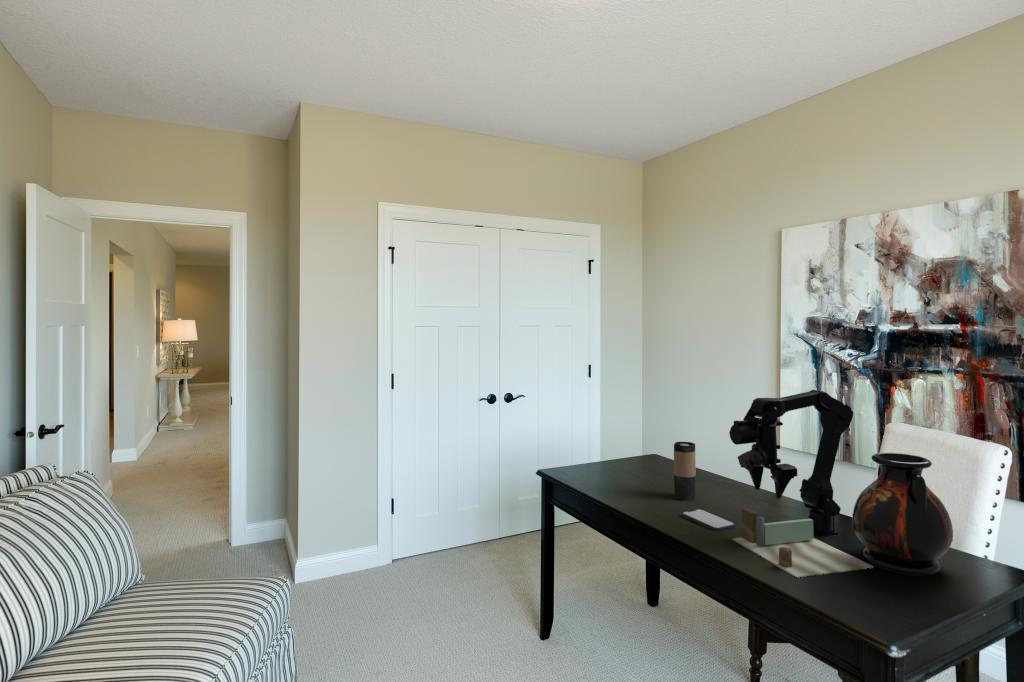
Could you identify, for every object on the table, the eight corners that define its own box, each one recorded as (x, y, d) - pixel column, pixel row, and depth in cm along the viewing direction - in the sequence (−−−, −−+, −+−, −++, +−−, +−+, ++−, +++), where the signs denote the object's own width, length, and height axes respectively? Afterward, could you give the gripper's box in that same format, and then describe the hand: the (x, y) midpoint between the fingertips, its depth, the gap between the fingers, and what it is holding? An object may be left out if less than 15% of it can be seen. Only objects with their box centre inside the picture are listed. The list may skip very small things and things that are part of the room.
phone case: (737, 529, 175) (700, 513, 189) (737, 524, 175) (700, 508, 189) (716, 533, 171) (679, 517, 186) (716, 528, 171) (679, 512, 186)
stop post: (786, 563, 148) (786, 546, 147) (794, 568, 145) (794, 550, 144) (776, 564, 147) (776, 547, 147) (784, 569, 144) (784, 552, 144)
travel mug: (700, 499, 203) (700, 444, 202) (683, 502, 200) (682, 446, 200) (686, 494, 210) (686, 440, 210) (669, 496, 207) (669, 442, 207)
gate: (759, 546, 157) (759, 519, 157) (754, 543, 159) (754, 516, 159) (814, 539, 161) (814, 513, 161) (808, 537, 163) (808, 511, 163)
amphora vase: (837, 546, 158) (837, 448, 157) (919, 549, 156) (920, 449, 155) (878, 581, 137) (878, 467, 136) (974, 584, 134) (975, 468, 134)
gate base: (799, 532, 170) (799, 502, 169) (873, 567, 144) (873, 533, 144) (732, 539, 164) (732, 509, 164) (796, 578, 139) (796, 542, 139)
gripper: (722, 437, 172) (724, 488, 173) (763, 450, 154) (765, 506, 155) (754, 434, 175) (756, 484, 175) (798, 446, 157) (799, 502, 157)
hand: (767, 493), depth 166 cm, fingers open, 9 cm apart
